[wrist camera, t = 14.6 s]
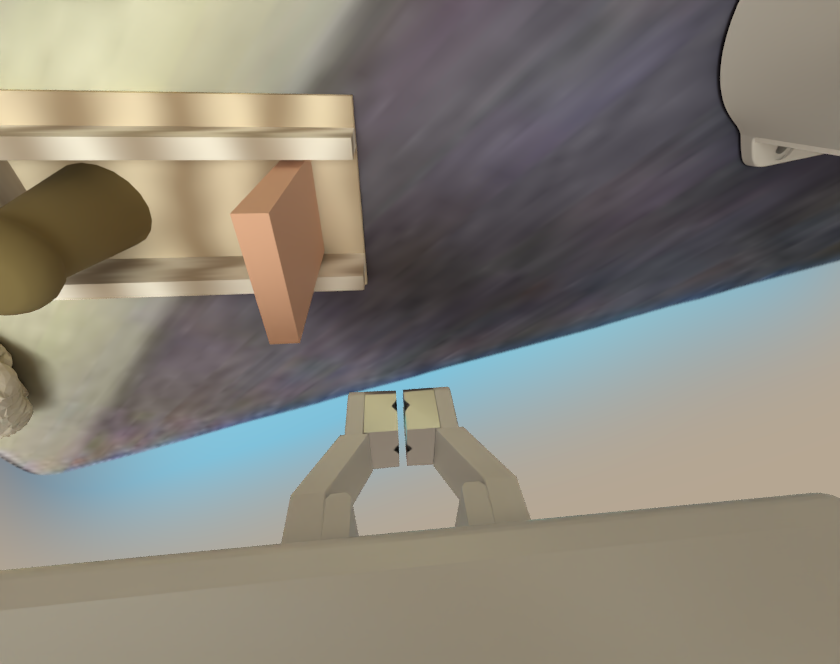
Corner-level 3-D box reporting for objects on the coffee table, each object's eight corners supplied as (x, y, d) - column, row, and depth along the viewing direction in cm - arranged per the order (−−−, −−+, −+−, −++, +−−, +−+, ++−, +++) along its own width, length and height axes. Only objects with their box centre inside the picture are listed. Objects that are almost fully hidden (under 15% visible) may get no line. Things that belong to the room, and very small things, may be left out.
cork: (42, 149, 23) (-158, 203, 15) (148, 178, 25) (25, 243, 16) (63, 234, 27) (-89, 319, 18) (155, 255, 28) (57, 342, 20)
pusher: (309, 154, 25) (268, 213, 15) (324, 250, 29) (299, 343, 20) (286, 153, 25) (229, 213, 15) (304, 250, 29) (269, 344, 20)
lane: (352, 94, 24) (347, 101, 20) (367, 278, 32) (366, 309, 28) (-44, 88, 22) (-137, 95, 18) (83, 287, 30) (39, 321, 26)
